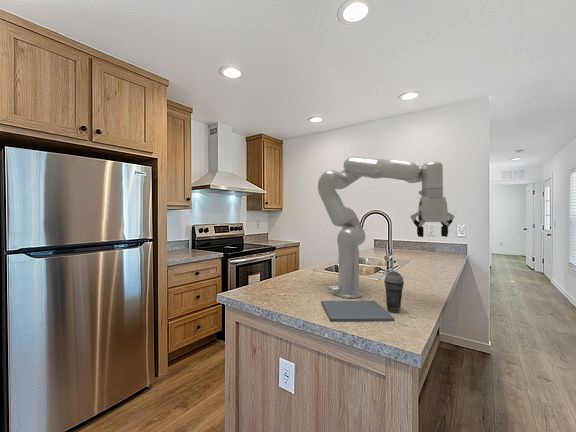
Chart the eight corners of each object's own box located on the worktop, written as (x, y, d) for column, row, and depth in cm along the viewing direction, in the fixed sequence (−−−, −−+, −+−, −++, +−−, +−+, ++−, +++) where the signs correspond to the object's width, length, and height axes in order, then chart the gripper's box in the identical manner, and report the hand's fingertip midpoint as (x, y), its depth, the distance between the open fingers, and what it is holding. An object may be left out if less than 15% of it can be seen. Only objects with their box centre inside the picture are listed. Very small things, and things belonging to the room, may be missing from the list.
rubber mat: (330, 321, 97) (330, 318, 97) (321, 303, 117) (321, 300, 117) (394, 321, 98) (394, 318, 98) (374, 302, 118) (374, 300, 118)
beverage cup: (393, 315, 103) (394, 262, 103) (379, 309, 110) (380, 259, 110) (407, 313, 106) (408, 261, 106) (393, 307, 113) (394, 258, 113)
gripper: (415, 193, 106) (415, 237, 106) (459, 192, 107) (459, 237, 107) (406, 194, 114) (406, 236, 114) (447, 194, 114) (448, 235, 114)
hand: (432, 236), depth 110 cm, fingers open, 9 cm apart
